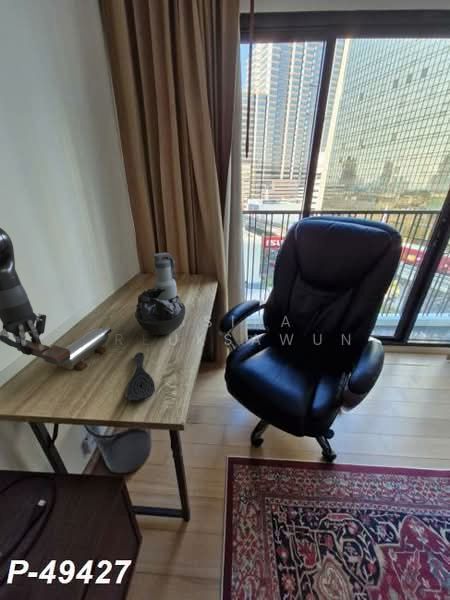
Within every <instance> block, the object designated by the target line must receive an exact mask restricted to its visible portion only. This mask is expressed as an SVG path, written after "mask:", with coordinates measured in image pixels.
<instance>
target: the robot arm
mask: <svg viewBox="0 0 450 600" xmlns="http://www.w3.org/2000/svg"><path fill="white" fill-rule="evenodd" d="M0 321H1V322H2V330H1V331H0V342H2V343H4V344H6V345H7V346H9V347H11V348H12V347H13V348H14V349H17V348H18V347H20V349H21V351H20V352H21V353H22V354H23V355H25V356H32V355H31V354H32V353H31V351H30V349H29V346H28V344H26V340H27V339H26V338H27V337H26V333H27V335H28V336H29V337H30V341H32V342H36V343H39V344H42V341H41V338H40V336H41V335H43V334H44V333H45V329H46V322H47V315H46V314H44V313H43V314H42V313H37V314H36V313H35V312H34V308H33V307H32V304H31V301H30V299H29V297H28V294H27V292H26V289H25V288H24V286H23V284H22V282H21V280H20V276H19V274H18V272H17V270H16V259H15V250H14V245H13V241H12V238H11V237H10V236H9V234H8V233H7V232H6V231H5V230H4V229H3V228H2V227H0ZM8 333H10V334H12V337H13V338H14V340H15V341H14V340H12V339H11V338H10V335H9V334H8ZM25 339H26V340H25Z"/></svg>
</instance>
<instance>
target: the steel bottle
mask: <svg viewBox="0 0 450 600" xmlns="http://www.w3.org/2000/svg"><path fill="white" fill-rule="evenodd" d="M112 331H113V330H112V328H111V327H110V326H106V327H105V328H102V327H100V328H93V329H92V330H90V331H88V332H87V333H85V334H84V335H83V336H81V337H80V338H78V339H76V340H75V341H73V342H71V344H69V345H68V346H66V347H65V348H66V349H69V351H70V353H71V354H70V357H71V358H69V359H68V360H67V361H65V362H64V363H62V364H61V365H60V366H62V367H63V368H64V369H67V370H73V369H75V370H79V371H83V370H85V369H86V368H88V363H87V362H84V361H85V360H86V359H87V358H89V357H90V356H91V355H93V354H94V353H95V354H98V355H101V356H102V355H104V354H105V353H106V352H107V351H108V350H107V347H104V345H106V344H107V341H108V339H109V336H110V334H111V333H112Z"/></svg>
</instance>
